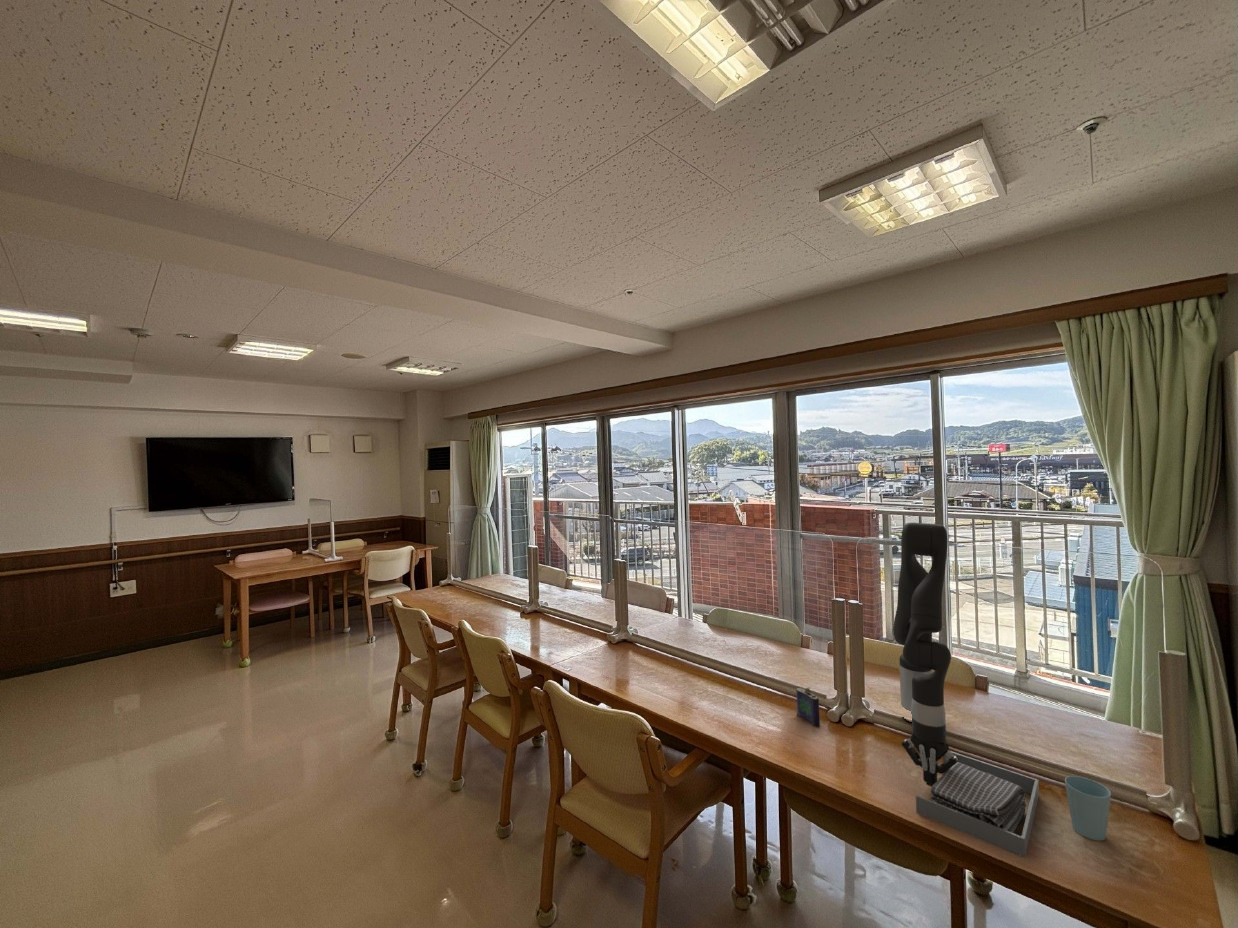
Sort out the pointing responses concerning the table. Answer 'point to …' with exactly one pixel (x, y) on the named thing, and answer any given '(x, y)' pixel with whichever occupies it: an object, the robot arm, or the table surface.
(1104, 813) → the cup
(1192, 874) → the table surface
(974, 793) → the towel
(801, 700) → the flask
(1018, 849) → the tray
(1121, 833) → the table surface
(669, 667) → the table surface
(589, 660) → the table surface
